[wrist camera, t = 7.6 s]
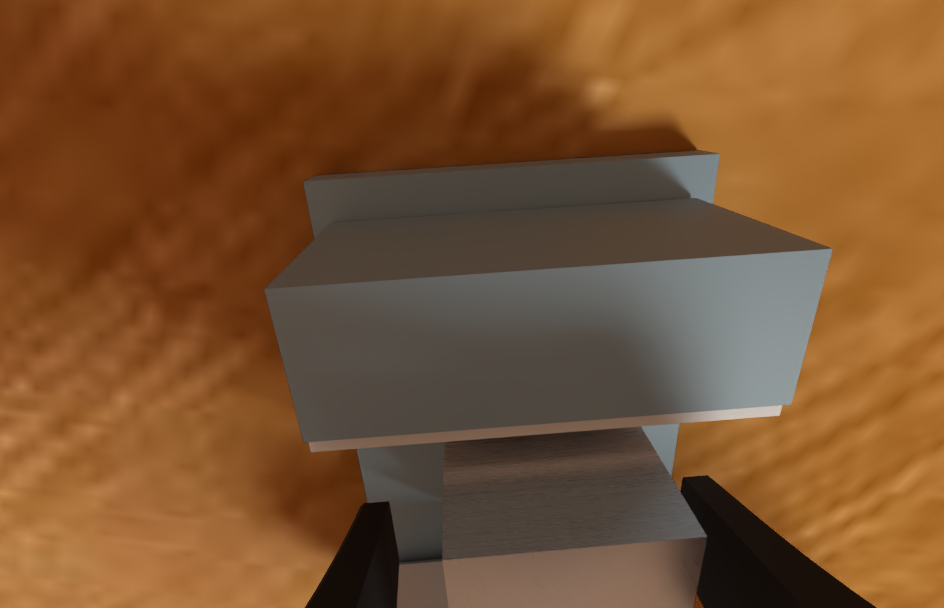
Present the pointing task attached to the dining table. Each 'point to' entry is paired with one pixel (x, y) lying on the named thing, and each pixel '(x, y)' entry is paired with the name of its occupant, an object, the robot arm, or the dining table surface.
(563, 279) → the base
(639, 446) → the steel block
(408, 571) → the block
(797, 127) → the dining table surface
